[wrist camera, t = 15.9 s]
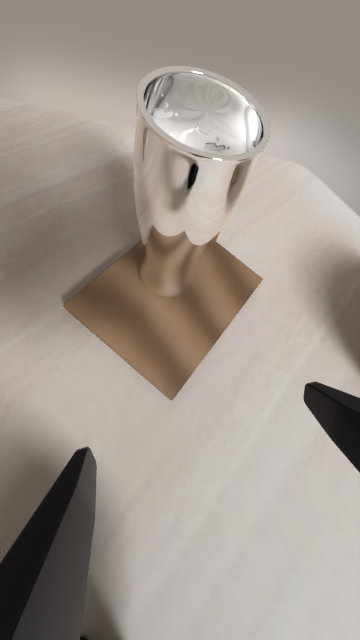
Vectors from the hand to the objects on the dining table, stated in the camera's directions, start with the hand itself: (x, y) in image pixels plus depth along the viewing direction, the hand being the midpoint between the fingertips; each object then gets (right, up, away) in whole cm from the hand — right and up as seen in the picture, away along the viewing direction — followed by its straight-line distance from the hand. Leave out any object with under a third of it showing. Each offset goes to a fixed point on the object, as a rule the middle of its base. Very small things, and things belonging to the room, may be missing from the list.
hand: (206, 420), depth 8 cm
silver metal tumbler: (-3, +9, +16) cm, 18 cm away
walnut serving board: (-2, +7, +16) cm, 18 cm away
